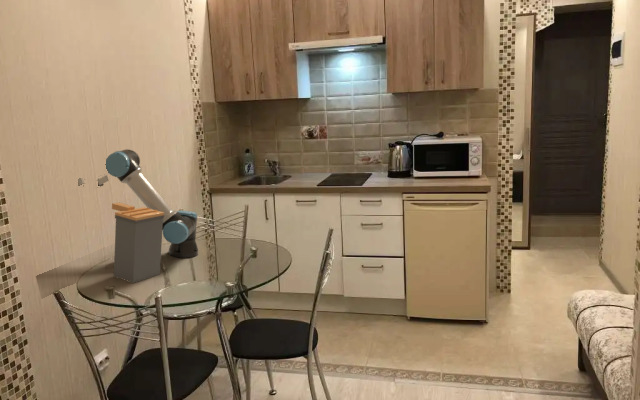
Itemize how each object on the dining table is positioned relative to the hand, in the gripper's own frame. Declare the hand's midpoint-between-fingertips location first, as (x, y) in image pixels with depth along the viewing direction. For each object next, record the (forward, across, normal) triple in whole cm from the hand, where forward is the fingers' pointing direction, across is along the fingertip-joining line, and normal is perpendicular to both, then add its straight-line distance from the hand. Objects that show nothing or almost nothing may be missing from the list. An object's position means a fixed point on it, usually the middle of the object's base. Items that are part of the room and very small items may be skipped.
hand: (95, 179), depth 237 cm
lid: (+15, 0, -22) cm, 27 cm away
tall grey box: (+6, 0, -49) cm, 49 cm away
